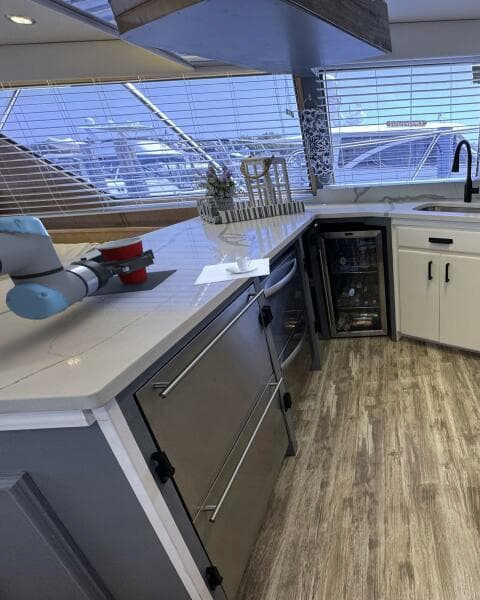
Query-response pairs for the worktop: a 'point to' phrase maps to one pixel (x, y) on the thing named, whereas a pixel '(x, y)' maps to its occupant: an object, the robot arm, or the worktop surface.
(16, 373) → the worktop surface
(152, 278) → the mat
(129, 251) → the plastic cup
